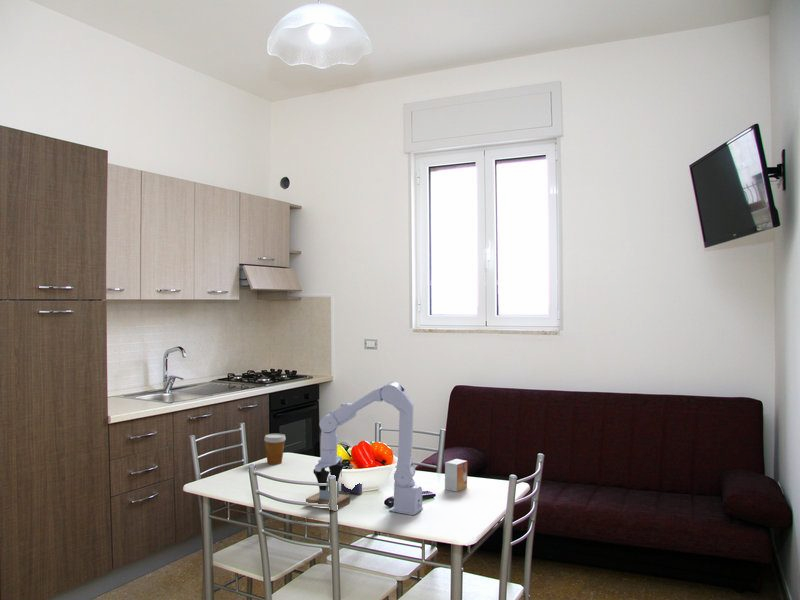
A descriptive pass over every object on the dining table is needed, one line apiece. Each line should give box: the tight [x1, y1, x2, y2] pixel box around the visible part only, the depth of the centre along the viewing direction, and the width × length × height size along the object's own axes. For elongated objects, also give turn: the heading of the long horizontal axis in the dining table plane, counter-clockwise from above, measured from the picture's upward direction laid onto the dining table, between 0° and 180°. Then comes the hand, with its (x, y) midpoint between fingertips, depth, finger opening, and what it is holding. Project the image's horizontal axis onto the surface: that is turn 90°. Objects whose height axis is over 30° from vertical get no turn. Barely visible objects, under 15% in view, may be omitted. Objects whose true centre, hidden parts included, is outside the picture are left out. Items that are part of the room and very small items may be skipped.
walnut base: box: [305, 492, 351, 511], centre depth 217 cm, size 12×10×2 cm
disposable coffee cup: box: [263, 433, 287, 466], centre depth 272 cm, size 10×10×12 cm
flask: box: [340, 463, 363, 496], centre depth 232 cm, size 9×3×11 cm, turn 59°
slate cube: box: [318, 480, 340, 500], centre depth 217 cm, size 5×5×5 cm
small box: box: [444, 458, 468, 492], centre depth 239 cm, size 8×6×10 cm
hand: (328, 487), depth 217 cm, fingers open, 7 cm apart
